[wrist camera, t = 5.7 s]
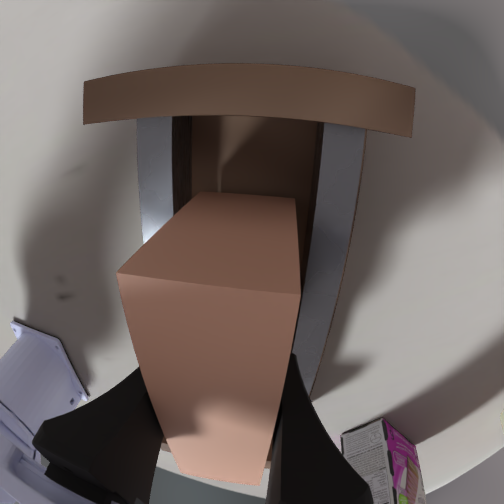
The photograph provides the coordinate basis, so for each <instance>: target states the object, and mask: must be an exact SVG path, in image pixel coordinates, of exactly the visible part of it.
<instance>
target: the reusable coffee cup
mask: <svg viewBox="0 0 504 504" xmlns="http://www.w3.org/2000/svg"><path fill="white" fill-rule="evenodd" d="M500 420H501V425H502V429H503V433H504V410H503V411H502V413H501V415H500Z"/></svg>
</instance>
